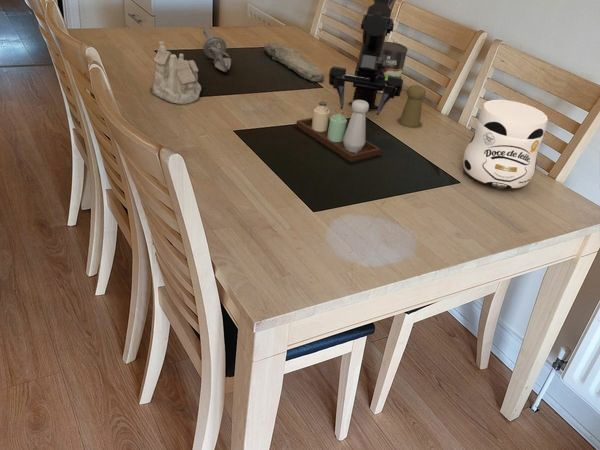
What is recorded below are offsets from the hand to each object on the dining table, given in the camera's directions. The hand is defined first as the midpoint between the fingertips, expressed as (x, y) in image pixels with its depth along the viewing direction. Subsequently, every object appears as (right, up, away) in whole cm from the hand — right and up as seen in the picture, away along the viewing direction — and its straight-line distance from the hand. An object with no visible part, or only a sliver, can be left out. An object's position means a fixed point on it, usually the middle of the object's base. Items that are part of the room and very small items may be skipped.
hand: (359, 111), depth 151 cm
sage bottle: (-6, -6, +7) cm, 11 cm away
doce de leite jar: (+34, -17, 0) cm, 38 cm away
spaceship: (-44, +28, +53) cm, 75 cm away
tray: (-5, -7, +7) cm, 11 cm away
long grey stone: (-18, +27, +57) cm, 66 cm away
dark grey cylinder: (+13, +17, +48) cm, 52 cm away
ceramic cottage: (-50, +10, +24) cm, 57 cm away
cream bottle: (-10, -2, +12) cm, 16 cm away
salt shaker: (-1, -9, +3) cm, 10 cm away
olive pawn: (+17, +1, +25) cm, 30 cm away
